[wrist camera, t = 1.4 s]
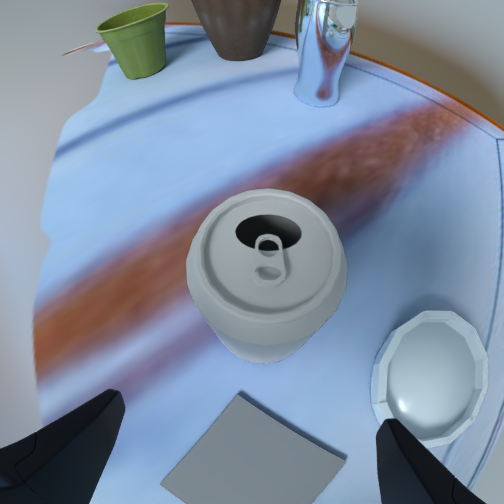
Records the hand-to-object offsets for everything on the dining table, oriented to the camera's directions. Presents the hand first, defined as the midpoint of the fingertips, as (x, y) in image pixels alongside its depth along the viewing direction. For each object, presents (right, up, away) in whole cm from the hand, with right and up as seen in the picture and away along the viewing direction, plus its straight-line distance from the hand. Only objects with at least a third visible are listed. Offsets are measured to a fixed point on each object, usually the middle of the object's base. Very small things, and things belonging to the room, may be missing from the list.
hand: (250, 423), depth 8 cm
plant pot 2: (-2, +39, +34) cm, 52 cm away
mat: (0, -11, +9) cm, 14 cm away
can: (+1, 0, +15) cm, 15 cm away
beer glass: (+9, +27, +27) cm, 39 cm away
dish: (+15, -5, +11) cm, 19 cm away
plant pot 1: (-18, +36, +33) cm, 52 cm away
